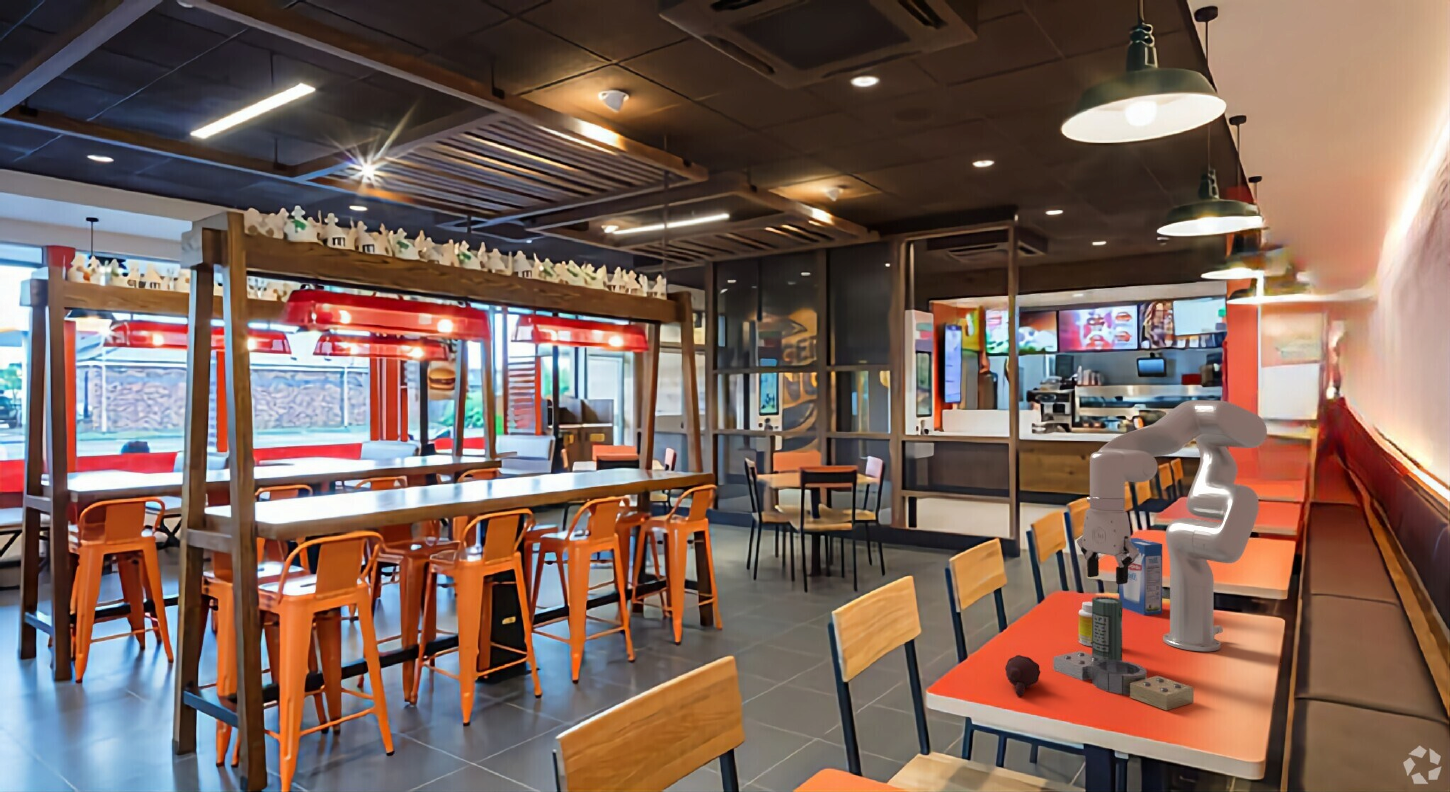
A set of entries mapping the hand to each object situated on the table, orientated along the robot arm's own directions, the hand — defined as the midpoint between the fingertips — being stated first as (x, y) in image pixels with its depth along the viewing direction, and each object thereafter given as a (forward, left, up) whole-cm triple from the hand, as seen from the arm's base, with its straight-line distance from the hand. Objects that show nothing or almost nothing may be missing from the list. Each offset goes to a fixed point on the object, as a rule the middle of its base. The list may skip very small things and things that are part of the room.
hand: (1107, 579), depth 194 cm
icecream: (+29, +2, -20) cm, 35 cm away
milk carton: (-48, -27, -20) cm, 59 cm away
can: (0, 0, -20) cm, 20 cm away
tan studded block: (+10, +21, -20) cm, 30 cm away
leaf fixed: (+10, +7, -20) cm, 23 cm away
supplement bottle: (-9, -12, -20) cm, 25 cm away
